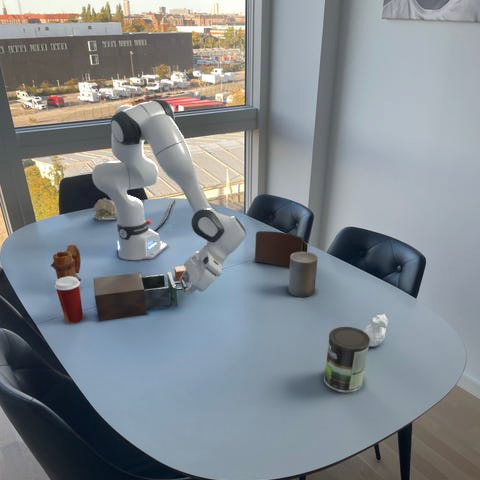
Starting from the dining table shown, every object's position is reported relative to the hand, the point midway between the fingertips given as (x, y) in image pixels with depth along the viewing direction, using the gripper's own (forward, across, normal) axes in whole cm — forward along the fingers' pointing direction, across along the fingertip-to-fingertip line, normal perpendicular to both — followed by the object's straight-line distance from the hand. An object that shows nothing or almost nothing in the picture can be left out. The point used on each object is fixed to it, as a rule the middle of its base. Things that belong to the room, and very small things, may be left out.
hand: (183, 287), depth 162 cm
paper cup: (+30, +3, -23) cm, 38 cm away
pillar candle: (-26, +5, +34) cm, 43 cm away
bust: (-32, +43, +39) cm, 66 cm away
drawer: (+9, 0, -3) cm, 9 cm away
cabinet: (+19, 0, -12) cm, 22 cm away
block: (+2, -17, +5) cm, 18 cm away
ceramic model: (+19, -102, -12) cm, 104 cm away
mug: (+30, -22, -23) cm, 44 cm away
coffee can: (-20, +57, +27) cm, 66 cm away
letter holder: (-28, -23, +36) cm, 51 cm away
